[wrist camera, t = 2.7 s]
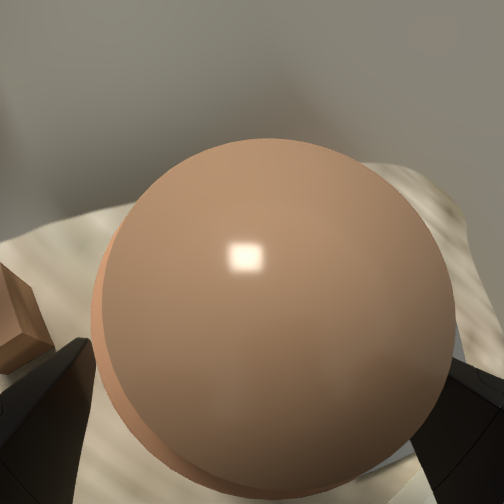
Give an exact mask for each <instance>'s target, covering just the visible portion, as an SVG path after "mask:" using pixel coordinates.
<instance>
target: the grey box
mask: <svg viewBox="0 0 504 504" xmlns="http://www.w3.org/2000/svg"><path fill="white" fill-rule="evenodd" d="M387 504H437V502H436V500H435V497H434V495H433V492H432V490H431V488H430V485H429V483H428V480H427V478H426V476H425V473H424V471H423V469H422V468H421V469H420V470H419V471H418V472H417V473H416V474H415V475H414V476H413V478H412V479H411V480H410V481H409V482H408V483H407V484H406V485H405V486H404V487H403V488H402V489H401V490H400V491H399V492H398V493H397V494H396V495H395V496H394V497H393V498H392V499H391V500H390V501H389V502H388V503H387Z"/></svg>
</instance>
